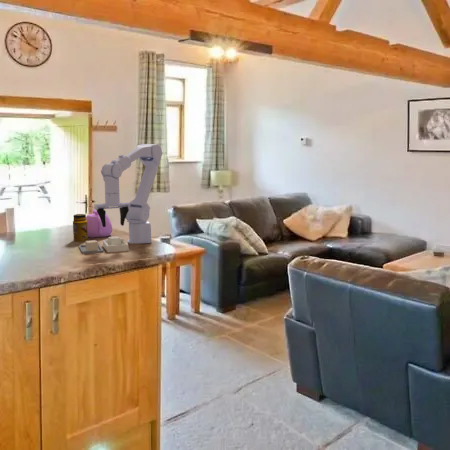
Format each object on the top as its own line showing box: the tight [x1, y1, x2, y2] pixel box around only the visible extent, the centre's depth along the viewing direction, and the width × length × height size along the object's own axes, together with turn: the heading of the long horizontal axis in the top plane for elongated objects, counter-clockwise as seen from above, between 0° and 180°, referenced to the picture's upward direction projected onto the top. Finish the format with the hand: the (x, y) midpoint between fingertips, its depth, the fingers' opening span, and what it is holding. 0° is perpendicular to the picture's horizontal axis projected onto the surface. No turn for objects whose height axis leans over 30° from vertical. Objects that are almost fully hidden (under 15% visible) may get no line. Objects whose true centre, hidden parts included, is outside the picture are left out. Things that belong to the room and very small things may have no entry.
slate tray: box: [78, 243, 105, 255], centre depth 210 cm, size 8×13×1 cm, turn 21°
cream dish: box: [102, 238, 129, 253], centre depth 212 cm, size 8×12×3 cm
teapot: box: [86, 209, 113, 239], centre depth 241 cm, size 20×13×12 cm, turn 23°
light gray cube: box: [107, 235, 121, 245], centre depth 214 cm, size 4×4×4 cm
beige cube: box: [85, 239, 99, 251], centre depth 206 cm, size 4×4×4 cm
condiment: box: [72, 213, 89, 243], centre depth 227 cm, size 7×8×12 cm
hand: (113, 225), depth 213 cm, fingers open, 7 cm apart
